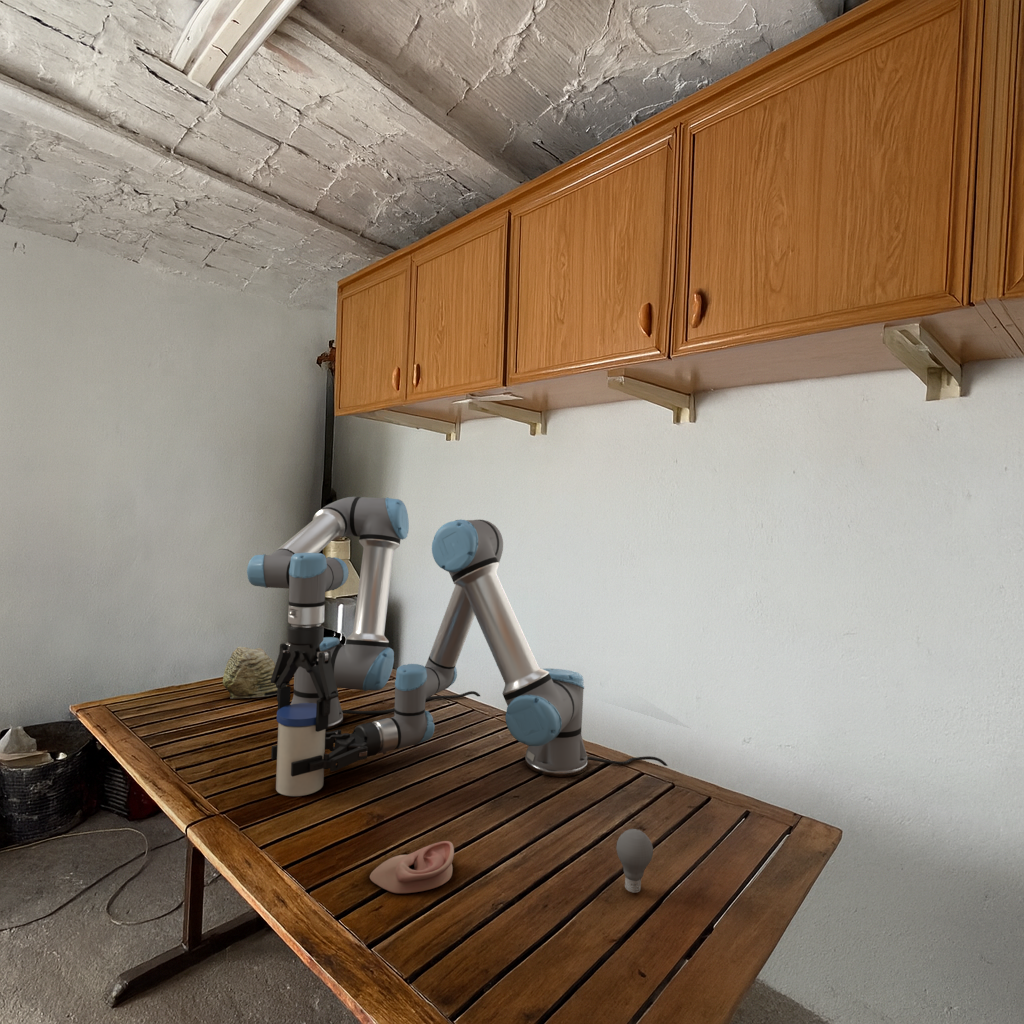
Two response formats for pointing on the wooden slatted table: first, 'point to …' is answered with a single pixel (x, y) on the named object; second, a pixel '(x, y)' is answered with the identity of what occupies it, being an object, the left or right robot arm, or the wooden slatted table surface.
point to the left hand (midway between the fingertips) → (302, 723)
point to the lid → (297, 715)
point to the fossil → (249, 674)
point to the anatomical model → (416, 869)
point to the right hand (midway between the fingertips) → (281, 760)
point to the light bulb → (634, 857)
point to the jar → (298, 759)
